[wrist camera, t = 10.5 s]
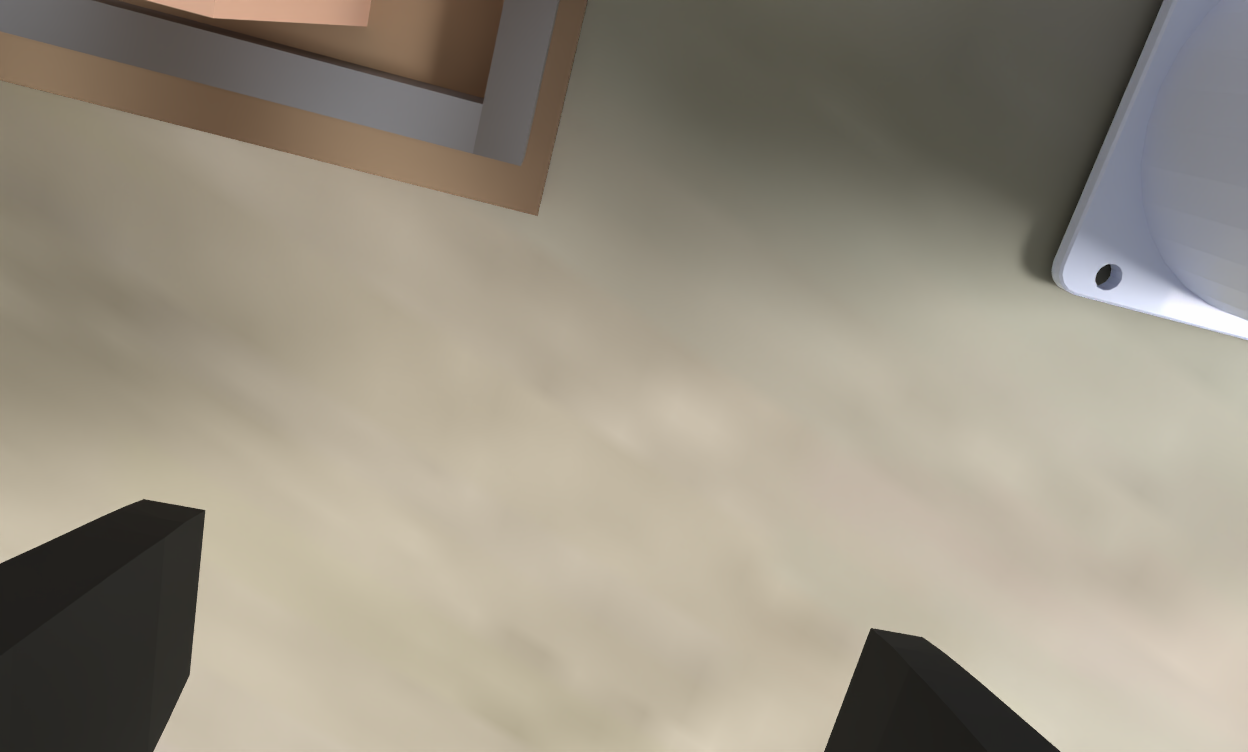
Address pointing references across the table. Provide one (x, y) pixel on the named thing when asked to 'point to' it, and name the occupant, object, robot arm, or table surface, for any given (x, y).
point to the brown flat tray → (327, 82)
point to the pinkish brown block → (280, 10)
